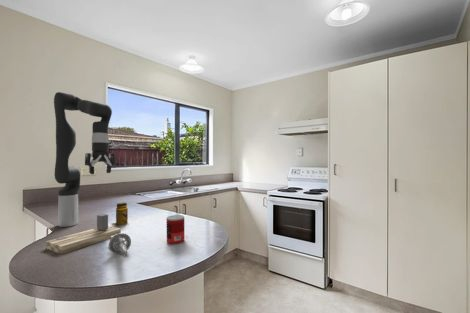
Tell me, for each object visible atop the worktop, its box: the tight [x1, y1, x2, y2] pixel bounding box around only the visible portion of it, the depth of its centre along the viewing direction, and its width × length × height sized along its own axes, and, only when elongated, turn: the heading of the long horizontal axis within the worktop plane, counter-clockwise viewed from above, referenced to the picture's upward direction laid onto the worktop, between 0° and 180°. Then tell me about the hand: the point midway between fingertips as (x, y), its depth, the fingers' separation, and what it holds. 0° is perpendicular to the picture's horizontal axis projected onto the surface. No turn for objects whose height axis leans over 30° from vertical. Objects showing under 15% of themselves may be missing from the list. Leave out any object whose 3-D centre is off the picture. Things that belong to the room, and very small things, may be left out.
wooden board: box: [45, 225, 122, 255], centre depth 106 cm, size 12×26×3 cm, turn 152°
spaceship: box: [108, 232, 132, 257], centre depth 91 cm, size 8×35×8 cm
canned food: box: [166, 214, 185, 245], centre depth 104 cm, size 8×8×11 cm
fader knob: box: [96, 213, 109, 231], centre depth 112 cm, size 4×3×8 cm
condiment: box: [111, 202, 130, 228], centre depth 133 cm, size 7×8×12 cm
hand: (100, 173), depth 119 cm, fingers open, 8 cm apart
